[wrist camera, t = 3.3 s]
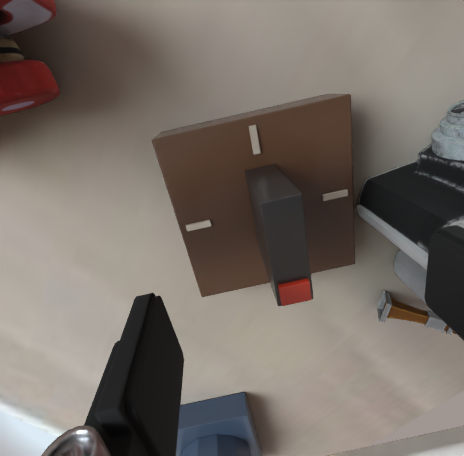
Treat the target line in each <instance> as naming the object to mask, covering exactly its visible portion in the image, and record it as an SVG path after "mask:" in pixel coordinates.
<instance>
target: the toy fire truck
mask: <svg viewBox="0 0 464 456" xmlns="http://www.w3.org/2000/svg"><path fill="white" fill-rule="evenodd" d="M56 11H57V10H56V5H55V2H54V0H0V116H1V115H6V114H10V113H14V112H18V111H21V110H25V109H30V108H33V107H36V106H39V105H42V104H44V103H47V102H49V101H51V100H53V99H55V98H57V97H58V96H59V94H60V90H59V87H58V85H57V83H56V81H55V79H54V77H53V75H52V73H51V71H50V69H49V68H48V66H47V65H46V64H44V63H43V62H41V61H37V60H30V59H27V60H25V59H24V53H23V52H22V51H21V50H20V49H19V48H18V46H17V44H16V43H15V42H14V41H13V40H11V39H10V37H9V36H10V35H12V34H15V33H18V32H21V31H24V30H27V29H29V28H32V27H34V26H37V25H40V24H42V23H45V22H48V21H49V20H51V19H52V18H54V16H55V15H56Z"/></svg>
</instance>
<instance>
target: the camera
mask: <svg viewBox="0 0 464 456" xmlns="http://www.w3.org/2000/svg"><path fill="white" fill-rule="evenodd" d="M356 208H357V212H358V214H359V216H360V217H361V218H363V219H364V220H365V221H366V222H368V223H369V224H370V225H371V226H373V227H374V228H375V229H376V230H378V231H379V232H380V233H381V234H382V235H384V236H385V237H386V238H387V239H389V240H390V241H391V242H392V243H394V244H395V245H396V246H397V247H399V248H400V249H401V250H402V251H404V252H405V253H406V254H407V255H409V256H410V257H411V258H412V259H414V260H415V261H416V262H417V263H418V264H420V265H421V266H422V267H423V268H425V269H426V270H427V263H428V252H429V241H430V236H431V235H433V234H434V231H435V230H436V229H439V228H443V227H448V226H452V225H458V226H460V227H462V228H464V100H462V101H460V102H458V103H456V104H454V105H452V106H451V107H450V108H449V109H448V112H447V116H446V117H445V118H443V119H442V121H441V122H440V127H438V128H437V129H435V130H434V132H433V133H432V143H431V144H430V145H429V146H427V147H426V148H425V149H424V150H422V151H421V152H420V153H419V154H418V160H417V161H414V162H411V163H408V164H405V165H403V166H400V167H397V168H394V169H392V170H389V171H386V172H384V173H381V174H378V175H376V176H373V177H370V178H368V179H366V181H365V183H364V184H363V186H362V189H361V192H360V195H359V205H358V206H356Z"/></svg>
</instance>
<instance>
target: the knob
mask: <svg viewBox="0 0 464 456" xmlns="http://www.w3.org/2000/svg"><path fill="white" fill-rule="evenodd" d="M245 177H246V182H247V187H248V192H249V197H250V203H251V208H252V213H253V218H254V223H255V229H256V234H257V239H258V244H259V249H260V253H261V256H262V259H263V262H264V265H265V268H266V271H267V274H268V277H269V280H270V283H271V286H272V289H273V292H274V295H275V298H276V301H277V305H278V306H285V305H290V304H294V303H299V302H303V301H308V300H311V299H313V291H312V281H311V272H310V263H309V253H308V244H307V235H306V225H305V216H304V207H303V198H302V193H301V192H300V191H299V190H298V189H297V188H296V187H295V186H294V185H293V184H292V183H291V182H290V181H289V179H288V178H287V177H286V176H285V175H284V174H283V173H282V172H281V171H280V170H279V169H278V168H277V167H276V166H275V165H274V164H271V165H266V166H262V167H258V168H253V169H249V170H245Z"/></svg>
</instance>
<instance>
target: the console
mask: <svg viewBox="0 0 464 456" xmlns="http://www.w3.org/2000/svg"><path fill="white" fill-rule="evenodd" d="M152 143H153V146H154V149H155V152H156V155H157V158H158V162H159V165H160V168H161V171H162V174H163V177H164V180H165V183H166V187H167V190H168V193H169V196H170V199H171V202H172V205H173V208H174V212H175V215H176V218H177V221H178V224H179V227H180V230H181V233H182V237H183V240H184V243H185V246H186V249H187V252H188V255H189V258H190V262H191V265H192V268H193V271H194V274H195V277H196V280H197V283H198V287H199V290H200V293H201V296H202V297H205V296H210V295H214V294H219V293H223V292H228V291H233V290H237V289H242V288H246V287H251V286H256V285H260V284H265V283H269V282H270V280H269V277H268V274H267V271H266V268H265V265H264V262H263V259H262V256H261V253H260V249H259V244H258V239H257V234H256V229H255V223H254V218H253V213H252V208H251V203H250V197H249V192H248V187H247V182H246V177H245V170H249V169H253V168H258V167H262V166H266V165H271V164H274V165H275V166H276V167H277V168H278V169H279V170H280V171H281V172H282V173H283V174H284V175H285V176H286V177H287V178H288V179H289V181H290V182H291V183H292V184H293V185H294V186H295V187H296V188H297V189H298V190H299V191H300V192H301V193H302V198H303V207H304V216H305V225H306V235H307V244H308V253H309V263H310V272H311V273H315V272H320V271H324V270H329V269H334V268H338V267H343V266H347V265H352V264H355V244H354V205H353V166H352V127H351V95H350V94H325V95H321V96H317V97H312V98H308V99H303V100H299V101H295V102H290V103H286V104H282V105H277V106H273V107H269V108H264V109H260V110H256V111H251V112H247V113H243V114H238V115H234V116H230V117H225V118H221V119H217V120H212V121H208V122H203V123H199V124H195V125H190V126H186V127H182V128H177V129H173V130H169V131H164V132H161V133H160V134H159V135H157V136H156V137H155V138H154V139H153V140H152Z"/></svg>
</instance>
